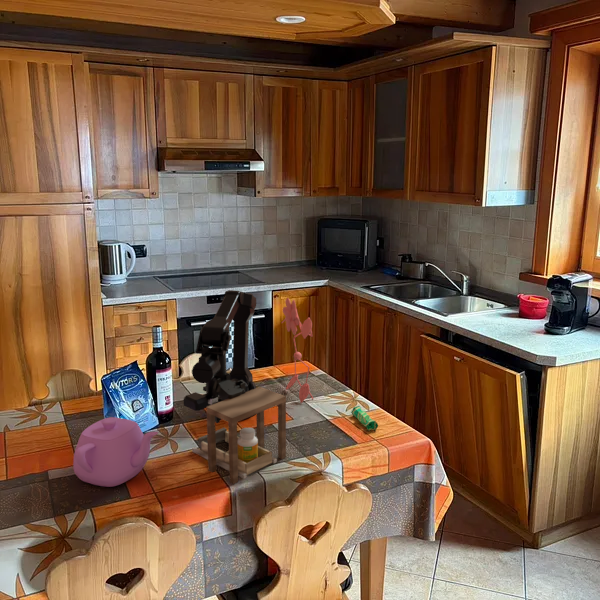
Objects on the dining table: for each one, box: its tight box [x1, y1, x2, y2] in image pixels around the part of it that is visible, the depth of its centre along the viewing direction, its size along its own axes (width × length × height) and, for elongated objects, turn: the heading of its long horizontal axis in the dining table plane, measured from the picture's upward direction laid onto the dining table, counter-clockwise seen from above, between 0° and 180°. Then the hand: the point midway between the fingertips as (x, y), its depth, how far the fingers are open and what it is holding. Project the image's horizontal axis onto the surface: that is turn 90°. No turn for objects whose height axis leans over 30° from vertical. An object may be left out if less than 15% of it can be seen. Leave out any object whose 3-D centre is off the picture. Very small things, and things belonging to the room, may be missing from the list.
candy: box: [350, 405, 379, 432], centre depth 187 cm, size 12×3×4 cm
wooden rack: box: [198, 427, 273, 476], centre depth 165 cm, size 20×9×4 cm, turn 47°
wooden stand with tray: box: [191, 386, 287, 485], centre depth 164 cm, size 22×19×18 cm
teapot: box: [72, 416, 159, 488], centre depth 153 cm, size 23×21×15 cm
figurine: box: [281, 297, 314, 410], centre depth 203 cm, size 15×26×35 cm, turn 22°
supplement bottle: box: [238, 427, 258, 463], centre depth 161 cm, size 5×5×10 cm
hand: (217, 422), depth 169 cm, fingers closed
